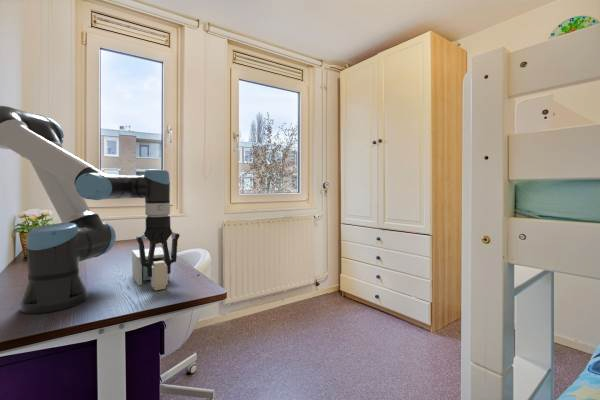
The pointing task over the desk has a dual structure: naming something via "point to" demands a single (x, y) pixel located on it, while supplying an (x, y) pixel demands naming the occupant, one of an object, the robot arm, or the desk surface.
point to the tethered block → (156, 274)
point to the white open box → (137, 264)
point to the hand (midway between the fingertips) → (159, 284)
